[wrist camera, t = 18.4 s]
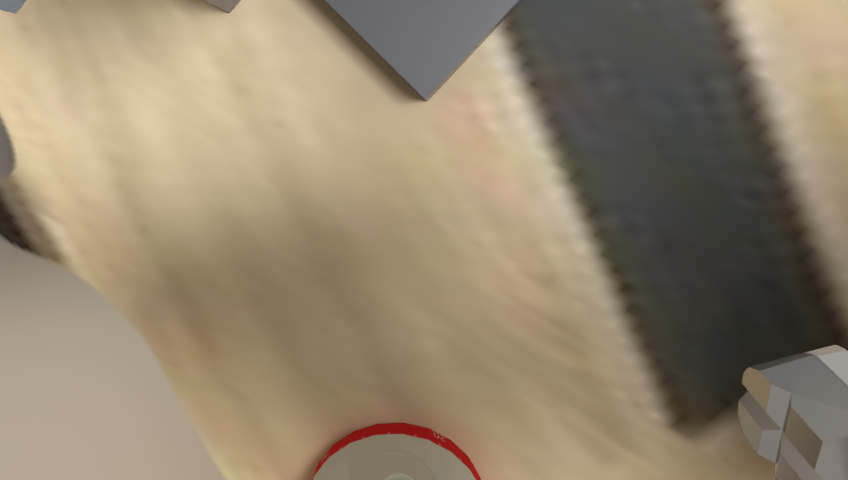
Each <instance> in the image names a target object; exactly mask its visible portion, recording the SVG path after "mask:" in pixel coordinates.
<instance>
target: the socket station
mask: <svg viewBox="0 0 848 480" xmlns="http://www.w3.org/2000/svg"><path fill="white" fill-rule="evenodd" d="M25 1H26V0H0V10H3V11H7V12H12V13H17V12H18V10H19V9H20V8H21V6H22V5H23V4H24V2H25ZM204 1H206V2H208V3H210V4H212V5H214V6H216V7H218V8H220V9H222V10H224V11H226V12H228V13H230V12H231V11H232V10H233V9H234V7H235V6H236V5H237V4H238V3H239V1H240V0H204ZM325 1H326V2H327V3H328V4H329V5H330V6H331V7H332V8H333V9H334V10H335V11H336V12H337V13H338V14H339V15H340V16H341V17H342V18H343V19H344V20H345V21H346V22H347V23H348V24H349V25H350V26H351V27H352V28H353V29H354V30H355V31H356V32H357V33H358V34H359V35H360V36H361V37H362V38H363V39H364V40H365V41H366V42H367V43H368V44H369V45H370V46H371V47H372V48H373V49H374V50H375V51H376V52H377V53H378V54H379V55H380V56H381V57H382V58H383V59H384V60H385V61H386V62H387V63H388V64H389V65H391V66H392V67H393V68H394V69H395V70H396V71H397V72H398V73H399V74H400V75H401V76H402V77H403V78H404V79H405V80H406V81H407V82H408V83H409V84H410V85H411V86H412V87H413V88H414V89H415V90H416V91H417V92H418V93H419V94H420V95H421V96H422V97H423V98H424V99H425V100H426V101H428V100H429V99H430V98H431V97H432V96H433V95H434V94H435V93H436V91H437V90H438V89H439V88H440V87H441V86H442V85H443V84H444V83H445V82H446V81H447V80H448V79H449V78H450V77H451V75H452V74H453V73H454V72H455V71H456V70H457V69H458V68H459V67H460V66H461V65H462V64H463V63H464V62H465V61H466V60H467V58H468V57H469V56H470V55H471V54H472V53H473V52H474V51H475V50H476V49H477V48H478V47H479V46H480V45H481V44H482V42H483V41H484V40H485V39H486V38H487V37H488V36H489V35H490V34H491V33H492V32H493V31H494V30H495V29H496V28H497V26H498V25H499V24H500V23H501V22H502V21H503V20H504V19H505V18H506V17H507V16H508V15H509V14H510V13H511V12H512V10H513V9H514V8H515V7H516V6H517V5H518V4H519V3H520V2H521V1H522V0H424V1H423V0H325Z"/></svg>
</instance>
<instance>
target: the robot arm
mask: <svg viewBox="0 0 848 480" xmlns="http://www.w3.org/2000/svg"><path fill="white" fill-rule="evenodd" d="M742 384H743V385H744V386H745V387H746V389H747V390H748V391H747V392H746V393H745V394H744V396H743V397H742V398H741V399H740V400H739V405H738V418H739V421H740V425H741V429H742V431H743V433H744V435H745V437H746V439H747V440H748V442H749V444H750V445H751V446H752V448H753V449H754V450H755V452H756V453H757V454H758V455H759V456H761V457H763V458H765V459H767V460H769V461H771V462H773V463H775V478H776V480H848V351H847V350H846V349H844V348H842V347H840V346H837V345H832V346H827V347H823V348H820V349H816V350H813V351H809V352H806V353H798V354H794V355H791V356H787V357H783V358H780V359H776V360H772V361H769V362H765V363H762V364H758V365H754V366H751V367H748V368H747V369H746V370H745V371H744V373H743V379H742Z"/></svg>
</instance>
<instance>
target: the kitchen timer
mask: <svg viewBox="0 0 848 480" xmlns="http://www.w3.org/2000/svg"><path fill="white" fill-rule="evenodd" d="M312 480H481V479H480V476H479V475H478V473H477V471H476V469H475V468H474V466H473V464H472V462H471V461H470V459H469V457H468V456H467V455H466V454H465V453H464V452H463V451H462V450H461V449H459V448H458V447H457V446H456V445H455V444H454V443H453V442H452V441H451V440H449V439H447V438H446V437H444V436H442V435H440V434H438V433H436V432H434V431H432V430H430V429H428V428H424V427H419V426H415V425H410V424H406V423H389V424H376V425H373V426H370V427H367V428H363V429H360V430H357V431H354V432H352V433H351V434H349V435H348V436H346V437H345V438H343V439H342V440H340V441H339V442H337V443H336V444H334V445H333V446H332V447H331V449H330V450H329V451H328V452H327V454H326V455H325V456H324V457H323V459H322V460H321V461H320V462H319V464H318V466H317V469H316V471H315V474H314V476H313V479H312Z"/></svg>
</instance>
